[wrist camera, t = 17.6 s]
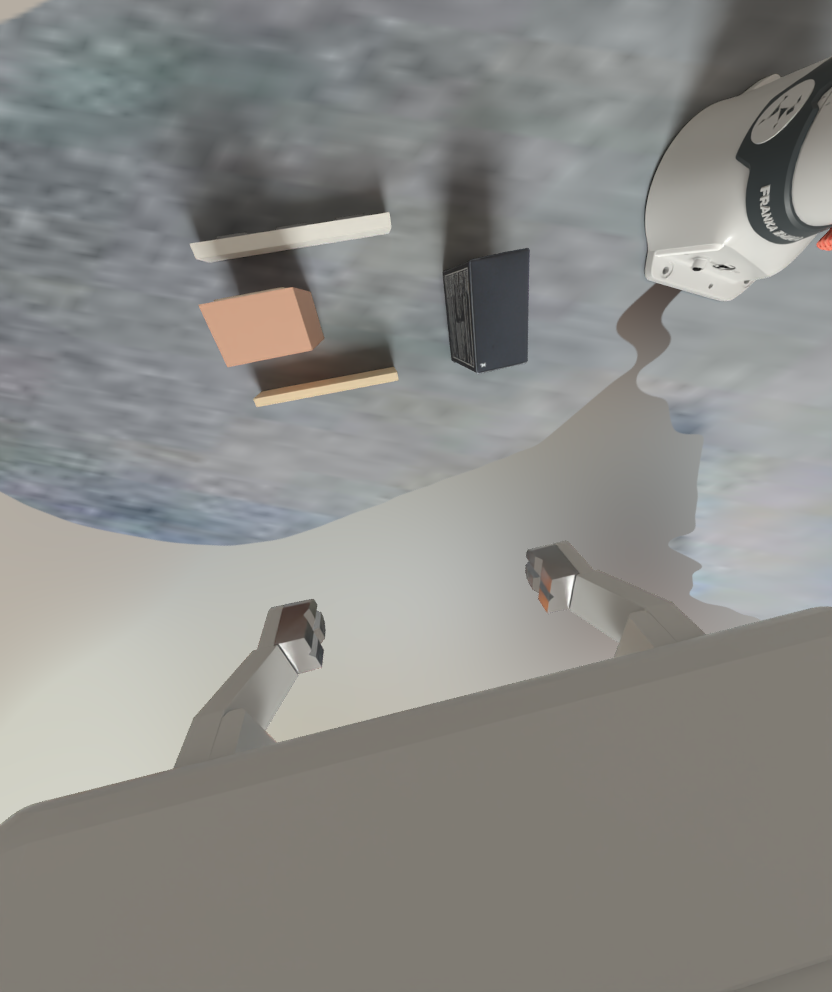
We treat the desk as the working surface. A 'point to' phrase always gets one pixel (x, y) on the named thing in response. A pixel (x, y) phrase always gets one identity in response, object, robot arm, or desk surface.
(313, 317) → the carton
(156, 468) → the desk surface
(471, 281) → the small box
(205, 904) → the robot arm
